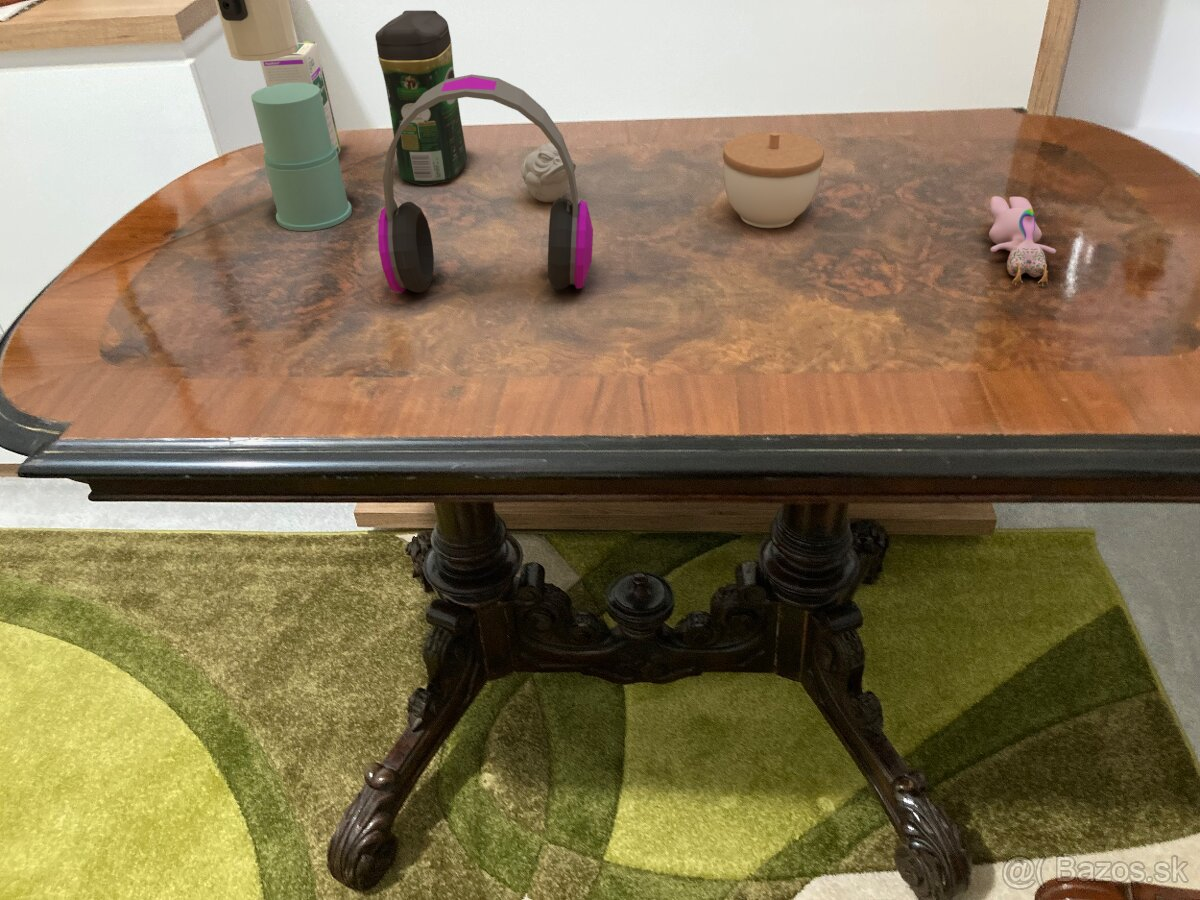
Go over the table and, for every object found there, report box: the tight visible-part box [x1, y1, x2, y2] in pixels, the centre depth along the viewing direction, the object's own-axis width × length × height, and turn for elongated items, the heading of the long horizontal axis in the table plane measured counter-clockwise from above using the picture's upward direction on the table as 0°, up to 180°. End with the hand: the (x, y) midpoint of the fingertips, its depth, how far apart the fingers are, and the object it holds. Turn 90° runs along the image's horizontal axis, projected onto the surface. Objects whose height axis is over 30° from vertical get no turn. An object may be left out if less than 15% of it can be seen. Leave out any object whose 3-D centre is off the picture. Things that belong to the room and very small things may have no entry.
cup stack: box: [250, 83, 353, 232], centre depth 103 cm, size 9×9×14 cm
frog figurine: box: [520, 142, 577, 203], centre depth 106 cm, size 6×7×7 cm
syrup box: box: [259, 40, 342, 155], centre depth 115 cm, size 6×6×14 cm
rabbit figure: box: [988, 195, 1057, 287], centre depth 93 cm, size 6×6×15 cm
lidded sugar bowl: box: [722, 131, 825, 229], centre depth 100 cm, size 11×11×9 cm
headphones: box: [377, 73, 594, 294], centre depth 86 cm, size 21×9×20 cm, turn 89°
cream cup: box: [214, 0, 299, 62], centre depth 87 cm, size 6×6×8 cm
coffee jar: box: [375, 9, 468, 186], centre depth 111 cm, size 10×8×19 cm
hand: (253, 9), depth 87 cm, fingers closed on cream cup, 6 cm apart
